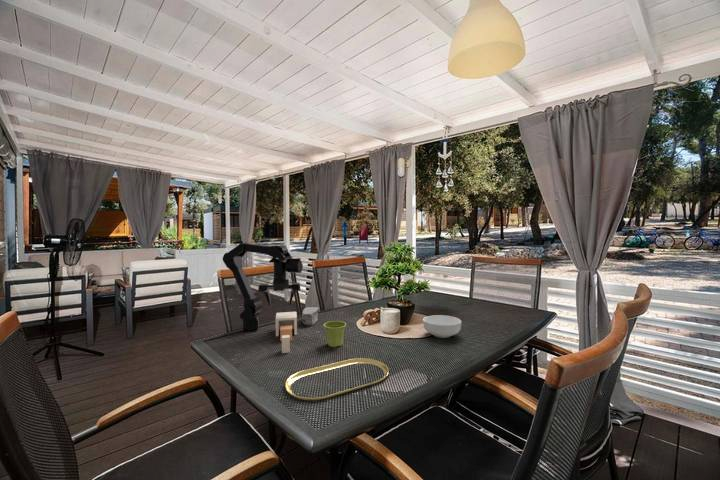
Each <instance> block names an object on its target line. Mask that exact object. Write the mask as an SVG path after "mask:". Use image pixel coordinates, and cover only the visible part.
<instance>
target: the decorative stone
mask: <svg viewBox="0 0 720 480" xmlns="http://www.w3.org/2000/svg"><path fill="white" fill-rule="evenodd" d="M319 309H320V308H319V307H315V306H314V307H313V306H312V307H310V306H307V307H305V308H304V309H303V310H302V313H301V322H302V324H303V325H304V326H305V327H307V326H308V327H311V326H314V325H315V323H317V322H318V318H319V311H320V310H319Z"/></svg>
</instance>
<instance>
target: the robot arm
mask: <svg viewBox="0 0 720 480" xmlns="http://www.w3.org/2000/svg"><path fill="white" fill-rule="evenodd" d="M247 253H254V254H255V253H256V254H265V255H267V256H269V257H272V258H271V259H270V260H269V261H268V262H269V263H273V281H272V284H269V283H268V282H267V283H266V282H265V283H260V284H258V286H257V287H258V288H257V289H258V292H260V293H261V294H264V296H265V298H266V301H267V303H268V306H269V307H270V306H271V295H270V290H272V291H274V292H277V291H281V292H283V291H285V290H287V289H289V290H290V296H289V297H290V298H289V306H290V305H292V301H293V298H294V296H295V294H296V293H298V291H301V283H300V282H291V284H290V280H289V279H287V273H292V274H294V273H295V274H301V273H302V271H303V267H304V266H303V262H302V260H301V259H302V258H301V257H298V258H296V257H295V258H293V257H292V255H291V253H290V252H289V248H288V247H287V246H286V245H285V244H279V245H278V244H277V245H276V244H275V245H266V244H265V245H263V244H256V243H249V242H241V243H239V244H238V245H237V246H235V247H233V248H232V249H231V250H229V251H228V252H226V253H224V254H223V256H222V262H223V263H224V265H225V267H226V268H227V269H228V270H230V272H232V275H233V277H234V279H235V282H236V284H237V287H238V288H239V291H240V293H241V296H242V298H243V306H242V307H243V309H244V310H243V311H242V312H241V313H240V314H239V317H240V320H242V333H248V332H249V333H250V332H257V331H258V329H259V328H260V323H259V321H260V320H259V318H258V316H259V315H260V313H261V312H262V310H263V308H264V306H263V304H264V303H263V301H262V298H261V296H260V295H258V296H257V295H256V294H254V291H253V289H252V288H251V284H250V282H249V280H248V278H247V276H246V273H245V271H244V268H243V258H244V257H245V255H246V254H247ZM242 257H243V258H242Z"/></svg>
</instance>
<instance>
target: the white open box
mask: <svg viewBox="0 0 720 480" xmlns="http://www.w3.org/2000/svg"><path fill="white" fill-rule="evenodd" d="M297 313H298V312H297V311H286V312H285V311H284V312H282V311H281V312H276V314H275V337H279V335H280V327H281V326H291V325H292V330H293V331H294V332H293V334H294V336H296V335H298V318H297V317H298V316H297Z"/></svg>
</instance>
